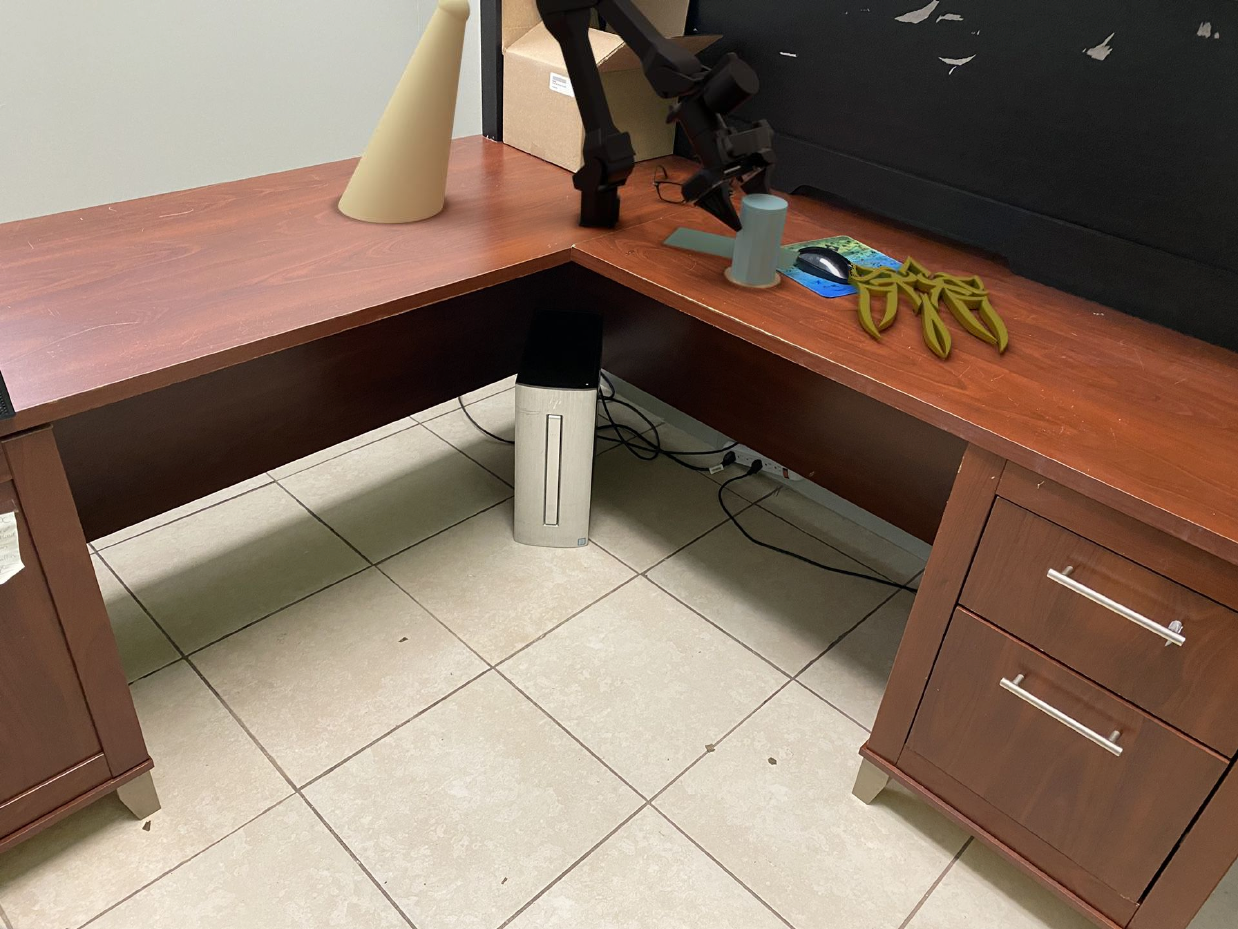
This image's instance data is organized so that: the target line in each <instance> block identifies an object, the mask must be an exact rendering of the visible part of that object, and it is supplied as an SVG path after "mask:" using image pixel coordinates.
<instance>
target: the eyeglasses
mask: <svg viewBox="0 0 1238 929" xmlns="http://www.w3.org/2000/svg"><path fill="white" fill-rule="evenodd" d="M658 168H661V169H662V171H663V175H664V178H665V179H667V178H668V177H669V175H668V172H667V170H666V168H665V167H664V166H663V165H660V164H658V165H657V166H656V168H655V171H654V176H653V181H652V184H653V186H654V187H655V190H656V192H657V195H658V197H659V199H660V200H661V201H664V202H666V203H669V204H670V203H671V204H683V203H684V202H686V201H685V199H684V198H683V200H681V201H672V200H667V199H665V198H662V194H661V193H660V184H670V185H676V186H679V187H682V184H683V183H679V182H674V181H668V180H656V177H657V176H656V175H657V171H658V170H657V169H658ZM735 180H736V178H734V179H731V180H729V181H730V183H729V186H732V185H733V183H734V181H735ZM736 181H737V182H736V184H735V187H734V189H730V188H729V197H730V198H731V197H732V196H733V195H734V194H735V192H736V190H737V187H738V184H739V181H738V180H736Z"/></svg>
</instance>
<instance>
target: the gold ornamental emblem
mask: <svg viewBox="0 0 1238 929" xmlns="http://www.w3.org/2000/svg"><path fill="white" fill-rule="evenodd" d="M850 263H851V265H853V268H854V269H852V270H851V272H852V273H851V274H852V276H851V274H850V271H849V270H848V278H847V284H849V285H851V286H852V287H853V289H854V290H855V292H856V294H857V298H858V299H857V300H858V302H857V303H858V304H857V317H858V320H859V323H860V324H861V326H862V327H863V329H864V330H865V331H866V333H868V334H870V335H871V336H873V337H874V338H876V339H877V340H880V341H883V337H882V336H881V335H880V333H879V332H880V331H883V330H885V329H886V328H888V327H890V326H891V325H892V324H893V322H894V320H895V317H896V313H897V309H898V300H899V298H898V293H899V294H900V295H902V297H904V299H905V300H907V302H908V303H909V304H910V305H911V306H912V308H913V309H912V310H913V312H914V314H915V316H917V315H918V314H919V312H920V315H921V328H922V335H923V339H924V342H925V344H926V345H927V346H928V348H929V349H931V351H932V352H933V353H934V354H936V355H937V356H939V357H941V358H943V359H947V357H948V356H949V353H950V350H951V346H952V336H951V334H950V331H949V330H948V328H947V326H946V325H945V323H944V321H943V320H942V319H941V317H940V315H938V313H939V310H940V307H939V302H938V300H939V298H940V297H941V299H942V301H943V303H944V304H945V306H946V307H947V309H948V310H949V311H950V312H951V314H952V315H953V317H954V318H955V319H956V320H957V321H958V322H959V324H960V325H961V326H962V327H963V328H964V329H965V330H966V331H967V332H969V333H971V334H972V335H974V336H975V337H976V338H979V339H981V340H983V341H985V342H987V343H989V344H991V345H994V346H996V345H997V344H998V347H999V353H998V354H1001V353H1003V352H1004V351H1005V349H1006V347H1007V345H1008V342H1009V333H1008V330H1007V328H1006V325H1005V324H1004V322H1003V320H1002V318H1001V317H1000V316H999V314H998V313H997V311H995V310H994V308H993V307H992V305H991V304H990V302H989V300H988V297H989V296H990V292H991V291H990V290H984V289H985V285H984V283H983V281H982V280H981V278H980V277H979V276H978V275H977V274H975V275H974V276H971V277H963V276H954V275H952V274H949V273H947V272H944V271H939V272H935V273H934V274H933V277H932V280H931V276H932V272H931V271H930V270H928V269H926V268H925V267H923V266H922V265H921V264H919V263H918V262H917V261H915V260H914V259H913V258H912V257H911V256H910V255H909V254H908V255H907V257H906V260H905V261H904V263H903V264H902V265H900V267H898V268H897V269H895V268H893V267H891V266H888V265H881V266H878V267H871V266H865V265H859V264H857V263H855V262H854V261H850ZM856 268H857V270H856ZM914 289H916V290H919V292H918V294H916V292H915V290H914ZM921 292H923V293H924V294H923V293H921ZM871 297H876V298H885V299H884V300H885V309H884V317H883V319H882V321H881V322H880V324H879V325H878V327H877V328H876V326H875V324H874V322H873V318H872V314H871V308H870V307H871V306H870V305H871V304H870V303H871ZM970 310H978V315H979V317H980V319H981V320H982V321H983V322H984V323H985V325H986V326H987V328H989V330H990V331H991V333H992V334H991V333H990V332H988V330H987V329H986V328H985V327H984V326H983V325H982V324H981V323H980V322H979V321H978V320H977V318H976V317H975V316H974V315H973V313H971V311H970Z"/></svg>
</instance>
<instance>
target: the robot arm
mask: <svg viewBox="0 0 1238 929" xmlns="http://www.w3.org/2000/svg"><path fill="white" fill-rule="evenodd" d="M535 5H536V9H537V12H538V15H539V16H540V19H541V21H542V24H543V26H544V29H546V30H547V32H548V33H549V34H550V35H551V36H552V38H554V40H555V41H556V42H557V43H558V46H559V48H560V51H561V54H562V58H563V62H564V65H565V67H566V68H565V69H566V71H567V75H568V79H569V82H570V85H571V88H572V91H573V95H574V98H575V102H576V105H577V109H578V112H579V115H580V119H581V123H582V126H583V129H584V140H583V146H582V151H581V152H582V159H583V165H582V166H581V167H580V168H579V169H578V170H577V171H576V172H575V173H574V174H572V175H571V181H572V186H573V189H574V190H576V191H580V192H581V193H580V210H579V211H580V215H579V220H578V227H579V226H580V227H588V228H590V227H591V228H601V229H616V227H617V226H616V225H617V223H619V222H620V213H621V212H620V211H621V198H622V197H621V194H619V193H618V192H619V188H620V187H624V186H626V184H627V181H628V178H629V177H630V176H631V175H632V174H633V171H634V168H635V167H636V161H635V156H636V155H637V153H636V150H634V147H633V144H632V139H631V135H630V132H629V131H627V130H625V131H622V132H621V131H620V130H619V128H618V127H617V126H616V125H615V123H614V120H613V118H612V114H611V111H610V107H609V104H608V100H607V97H606V93H605V90H604V89H605V88H604V86H603V83H602V78H601V75H600V71H599V69H598V64H597V61H596V57H595V54H594V50H593V46H592V43H591V40H590V35H589V33H590V32H589V31H590V25H591V19H592V10H591V9H594V10H595V11H596V12H597V13H598V14H599V15H600V17H601V18H602V19H603V20H604V21H605V23H606V24H608V26H609V27H610V28H611V29H612V30H613V32H614V33H615V34H616V35H617V36H618V37H619V38H620V39H621V40H622V41H623V43H625V44H624V45H626V46H627V47H628V48H629V49H630V50H631V52H632V53H633V54H634V55H635V56H636V57H637V58H638V60H639V61H640V64H641V67H642V71H643V75H644V78H645V79H646V80H647V83H648V84H649V85H650V87H651V88H652V90H653V92H654V93H655V94H656V95H657V96H658V97H659V98H661V99H663V100H667V99H675V98H679V97H683V96H686V97H685V98H683V99H682V101H680V102H679V103H678V102H677V103H672V104H669V105H668V112H667V114H666V118H665V124H666V125H671V124H674V123H679V124H680V126H681V127H682V129H683V131H684V133H685V135H686V136H687V138H688V140H689V142H690V144H691V145H692V149H691V150H690V151H689V154H690V156H691V158H696V157H698V158H699V161H700V163H701V164H702V166H703V168H700V169H699V170H698V171H696V172H695V173H694V174H693V175H692V176H690V177H689V178H688V179H686V180H685V181H684V182H683V183H681V184H682V186H681V189H680V194H681V196H682V198H683V200H684V199H685V201H684V202H685V203H686V204H689V203H692V202H693V203H692V205H693V206H694V207H699V208H700V209H702V210H703V211H705V212H707V213H708V214H710V215H712V216H713V217H714V218H716V219H717V220H719V221H720V222H722V223H723V224H725V225H726V227H729V228H730V229H731V230H733V231H734V232H736V233H737V232H739V231H740V230H742V225H741V222H740V220H739V215H738V212H737V210H736V209H735V206H734V204H733V202H732V198H731V196H730V197H729V189H730V185H729V183H730V181H731V179H734V178H735V179H734V180H736V181H738V183H741V185H739V188H740V189H741V190H742V191H743V193H745V196H746V195H749V194H767V195H772V192H771V187H770V186H771V185H770V178H771V175H772V172H773V170H774V169H775V167H776V164H775V163H776V162H778V158H777V156H776V154H775V152H774V149H772V143H771V141H772V139H773V136H774V135H775V130H774V129H772V127H771V125H770V124H769V122H768V121H767V119H765V118H764V119H760V120H757V121H754V122H751V124H750V127H749V130H745V131H742V132H738V131H737V128H735V127H734V126H733V125H731V126H726V123H725V122H724V120H723V118H722V117H721V115H722V116H730V115H731V114H733V113H734V112H735V111H736V110H737V109H739V108H740V107H741V106H742V105H744V103H746V102H747V101H748V100H750V99H751V98H752V97H753V96H754V95H755V94H756V93H758V91H759V88H760V84H759V83H760V82H759V78H758V76H757V74H756V72H755V70H754V69H753V68H751V67H750V66H749V65H748V64H747V63H746V62H745V61H744V60H742V59H740V58H739V57H738V55H737V54H736V52H729V53H726V54H724V55H723V56H722V57H721V58H720V60H719V61H718V63H717V64H716V65H715V66H713V67H712V68H709V67H707V66H705V65H703V64H702V63H701V62H700V60H699V58H697V57H696V55H694V54H692V53H691V52H690V51H689V50H687V49H686V48H685V47H683V46H682V45H680V44H678V43H676V42H673V41H671V40H670V39H668V38H666V37H665V36H664V35H662V33H661V32H660V31H659V29H657V28H656V27H655V26H654V24H653V23H652V22H651V21H650V20H649V19H648V18H647V17H646V16H645V15H644V13H643V12H642V11H641V10H640V9H639V8H638V7H637V5H636V4H635V3H634V2H633V1H632V0H535ZM697 90H700V91H699V92H698V93H697V94H693V93H695V92H696V91H697Z"/></svg>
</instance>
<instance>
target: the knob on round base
mask: <svg viewBox="0 0 1238 929" xmlns="http://www.w3.org/2000/svg"><path fill="white" fill-rule="evenodd" d="M731 268H732V265H731V266H728V267H727V268H726V269H725V270H724V272H723V274H724V277H725V278H726V280H728V281H729V282H731V283H733V284H735V285H738V286H741V287H746V288H751V289H768V288H773V287H776V286H778V285H779V284H780V283H781V276H780V274H779V273H778V272H776V274H775V280H774V281H772V282H771V283H769V284H761V285H755V284H747V283H744V282H741V281H738V280H736V279H735V278H733V277H732V276H731Z"/></svg>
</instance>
